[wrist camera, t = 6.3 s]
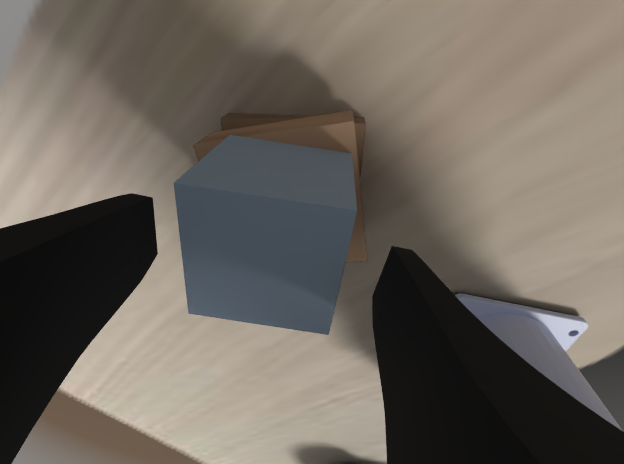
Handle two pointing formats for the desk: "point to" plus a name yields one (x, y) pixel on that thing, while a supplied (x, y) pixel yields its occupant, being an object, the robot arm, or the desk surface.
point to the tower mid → (312, 133)
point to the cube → (266, 232)
